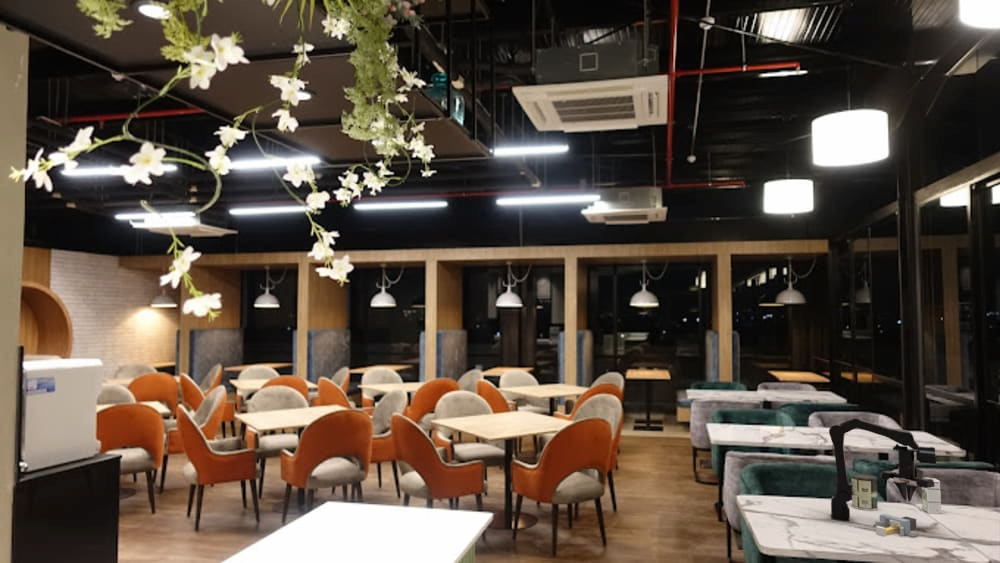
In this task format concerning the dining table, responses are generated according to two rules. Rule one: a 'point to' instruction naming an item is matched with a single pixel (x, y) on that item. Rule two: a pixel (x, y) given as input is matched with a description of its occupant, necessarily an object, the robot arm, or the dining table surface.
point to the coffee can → (864, 492)
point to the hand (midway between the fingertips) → (907, 500)
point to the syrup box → (932, 498)
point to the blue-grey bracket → (904, 523)
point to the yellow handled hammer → (895, 528)
